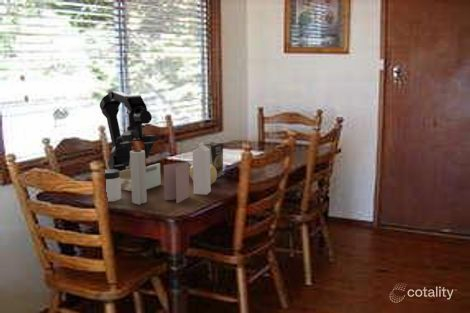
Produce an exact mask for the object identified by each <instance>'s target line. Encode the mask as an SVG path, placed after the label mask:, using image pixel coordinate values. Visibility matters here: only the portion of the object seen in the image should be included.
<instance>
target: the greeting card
mask: <svg viewBox="0 0 470 313" xmlns="http://www.w3.org/2000/svg"><path fill="white" fill-rule="evenodd" d="M163 184H164V188H163V189H164V201H172V200H176V204H178V203H180V202H183V201H184V200H186V199H188V198H190V166H189V161H186V162H185V161H184V162H178V163H170V164H164V165H163Z"/></svg>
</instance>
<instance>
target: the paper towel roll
mask: <svg viewBox="0 0 470 313" xmlns="http://www.w3.org/2000/svg"><path fill="white" fill-rule="evenodd" d="M129 167H130V168H131V189H132V191H131V203H132V204H135V205H139V206H141V204H145V203H147V202H148V200H147V199H148V197H147V196H148V194H147V189H146V167H147V166H146V157H145V149H144V150H143V149H134V150H132V151H130V162H129Z"/></svg>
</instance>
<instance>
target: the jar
mask: <svg viewBox="0 0 470 313" xmlns="http://www.w3.org/2000/svg"><path fill="white" fill-rule="evenodd" d="M104 170H105V178H106V192H107V197H108V201H107V202H117V201H119V200H122V189H121V180H120V173H119V170H116V169H112V168H109V169H104Z"/></svg>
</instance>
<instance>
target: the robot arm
mask: <svg viewBox="0 0 470 313" xmlns="http://www.w3.org/2000/svg"><path fill="white" fill-rule="evenodd" d="M121 103H122V104H123V107H124V108H126V109H127V110H126V114H127V115H128V116H127V117H128V126H127V128H126V131H124V132H122V134H121V130H120V124H119V119H118V113H119V111H120V108H119V107H120V106H121ZM99 108H100V110H101V113H102V115H103V116H104V117H105V118H106V121H107V125H108V126H107V127H108V130H109V135H110V141H111V145H112V147H111V151H110V157H109V160H108V163H107V164H108V168H109V169H116V170H119V171H123V170H126V169H127V167H130V151H133V150H132V149H133V147H132V146H133V142H143V143H142V145H143V147H144V151H145V159H148V158H149V155H150V154H151V150H152V148H153V146H154V144H156V142H158V137H157V135H156V134H148V135H145V134H144V131H143V129H144V128H145V125H148V124H149V123H151V122H152V118H153V117H152V114H151V112H150V111H148V108H147V104H146V103H145V102H144V99H143V98H142V96H141V95H138V94H134V95H133V94H132V95H131V94H129V93H125V92H122V91H121V90H110V91H108V93H107V94H106V95H104V96H103V97H102V98H101V100H100V102H99Z"/></svg>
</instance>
